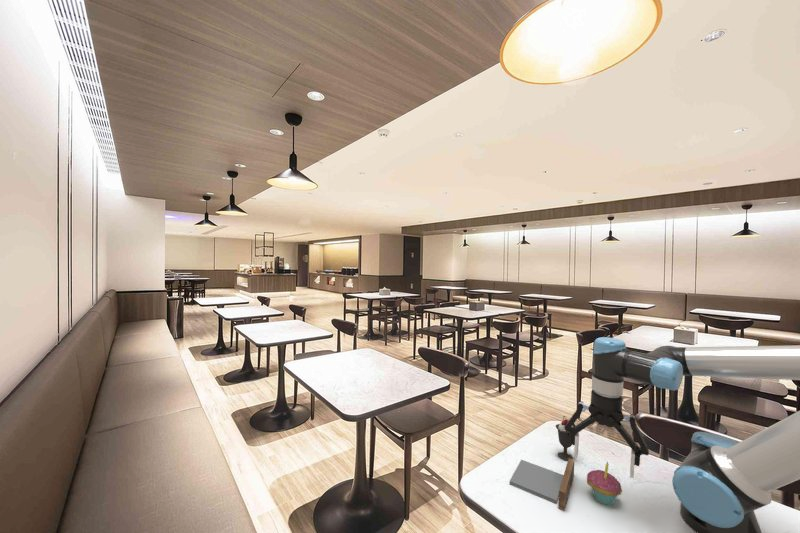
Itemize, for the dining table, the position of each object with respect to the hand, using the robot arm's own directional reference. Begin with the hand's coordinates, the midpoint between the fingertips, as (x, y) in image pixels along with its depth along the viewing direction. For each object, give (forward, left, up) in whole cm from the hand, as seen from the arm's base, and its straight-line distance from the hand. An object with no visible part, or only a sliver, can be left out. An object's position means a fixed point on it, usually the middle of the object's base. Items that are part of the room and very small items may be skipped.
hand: (602, 465), depth 93 cm
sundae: (+12, -15, -10) cm, 21 cm away
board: (+17, +4, -10) cm, 20 cm away
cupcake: (0, 0, -10) cm, 10 cm away
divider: (+9, +3, -10) cm, 13 cm away
